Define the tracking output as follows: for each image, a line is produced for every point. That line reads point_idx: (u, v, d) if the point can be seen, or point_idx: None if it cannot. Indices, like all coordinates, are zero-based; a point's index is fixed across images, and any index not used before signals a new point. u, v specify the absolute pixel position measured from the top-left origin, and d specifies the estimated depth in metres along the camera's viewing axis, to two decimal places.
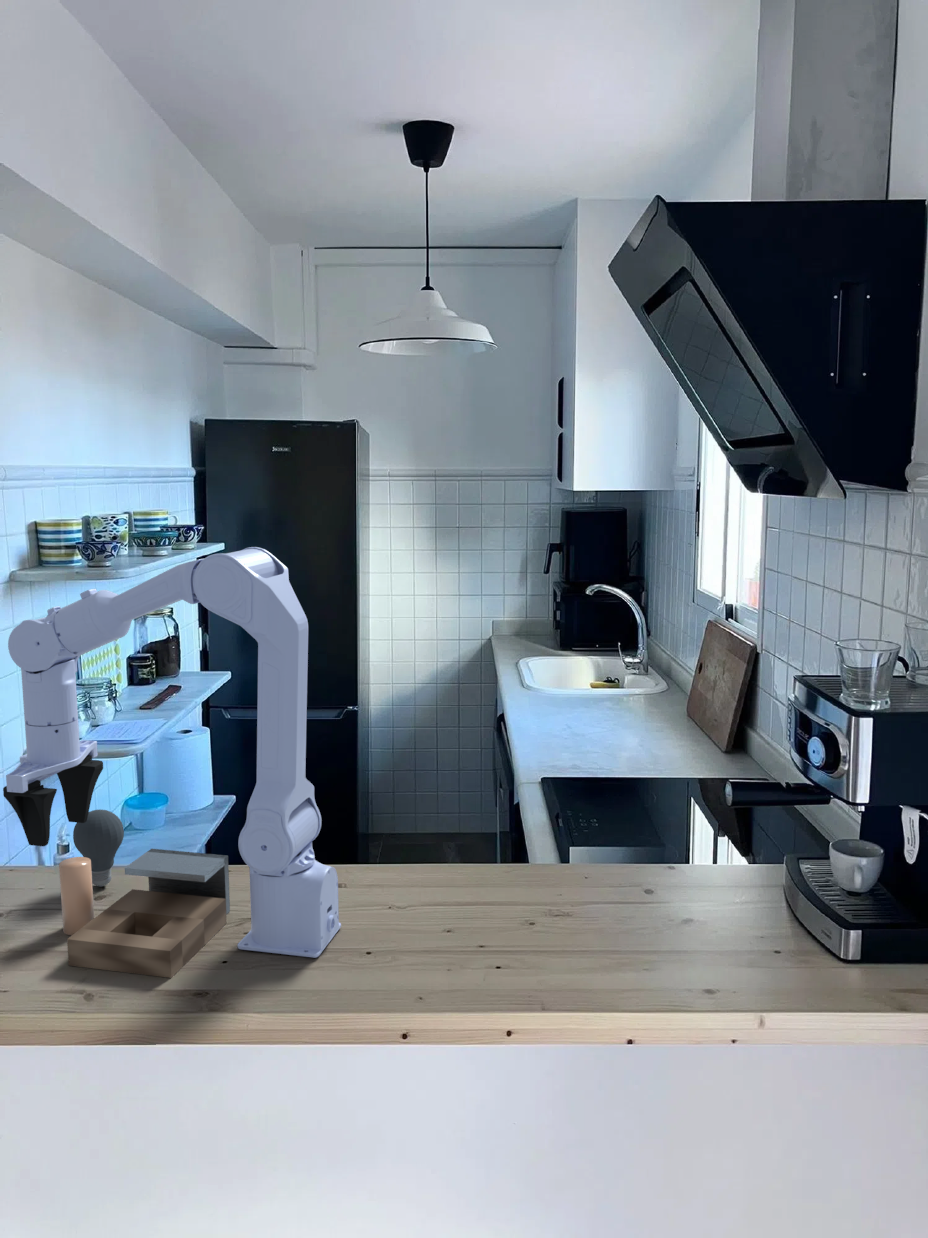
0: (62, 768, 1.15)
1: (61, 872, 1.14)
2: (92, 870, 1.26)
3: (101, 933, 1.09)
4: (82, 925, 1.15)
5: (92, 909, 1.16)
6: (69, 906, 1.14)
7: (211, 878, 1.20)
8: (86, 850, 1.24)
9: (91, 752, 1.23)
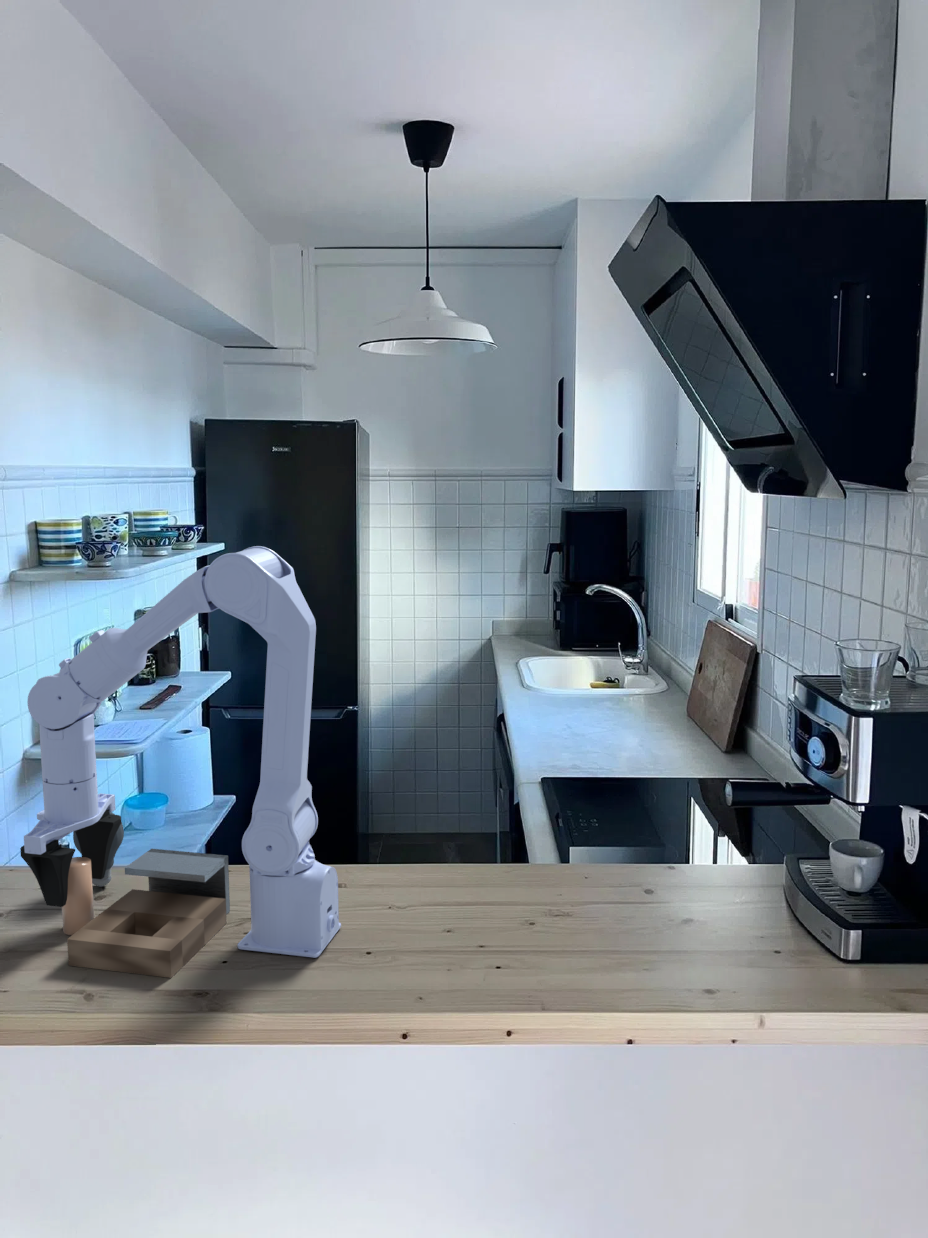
0: (80, 827, 1.12)
1: None
2: None
3: (101, 933, 1.09)
4: (82, 925, 1.15)
5: (92, 909, 1.16)
6: (69, 906, 1.14)
7: (211, 878, 1.20)
8: None
9: (109, 806, 1.20)
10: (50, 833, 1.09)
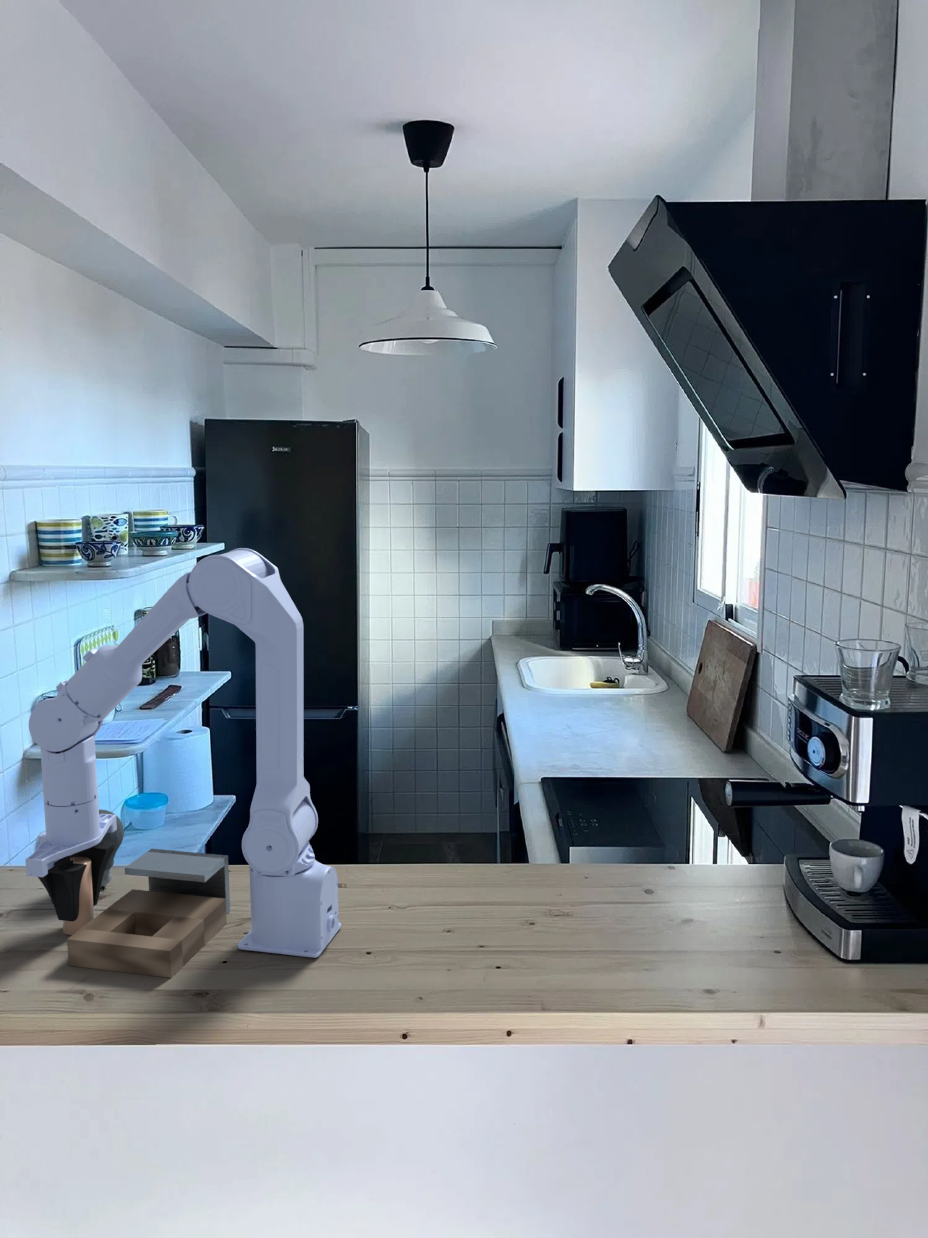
0: (82, 849, 1.12)
1: None
2: None
3: (101, 933, 1.09)
4: (82, 925, 1.15)
5: (92, 909, 1.16)
6: None
7: (211, 878, 1.20)
8: None
9: (110, 827, 1.21)
10: (52, 856, 1.09)
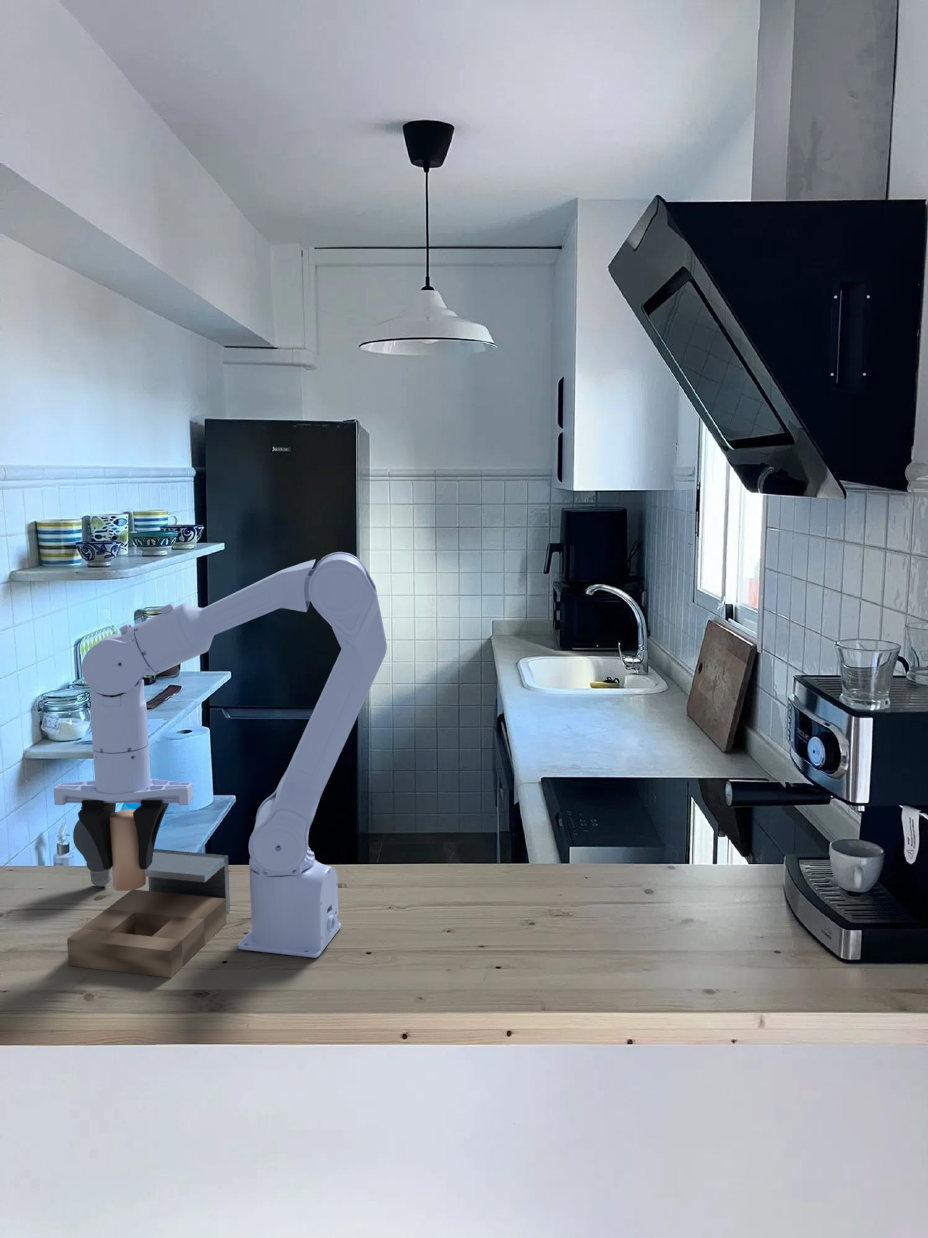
0: (95, 797, 1.07)
1: None
2: (92, 870, 1.26)
3: (101, 933, 1.09)
4: (115, 880, 1.10)
5: (128, 870, 1.10)
6: None
7: (211, 878, 1.20)
8: (86, 850, 1.24)
9: (178, 798, 1.09)
10: (67, 789, 1.08)
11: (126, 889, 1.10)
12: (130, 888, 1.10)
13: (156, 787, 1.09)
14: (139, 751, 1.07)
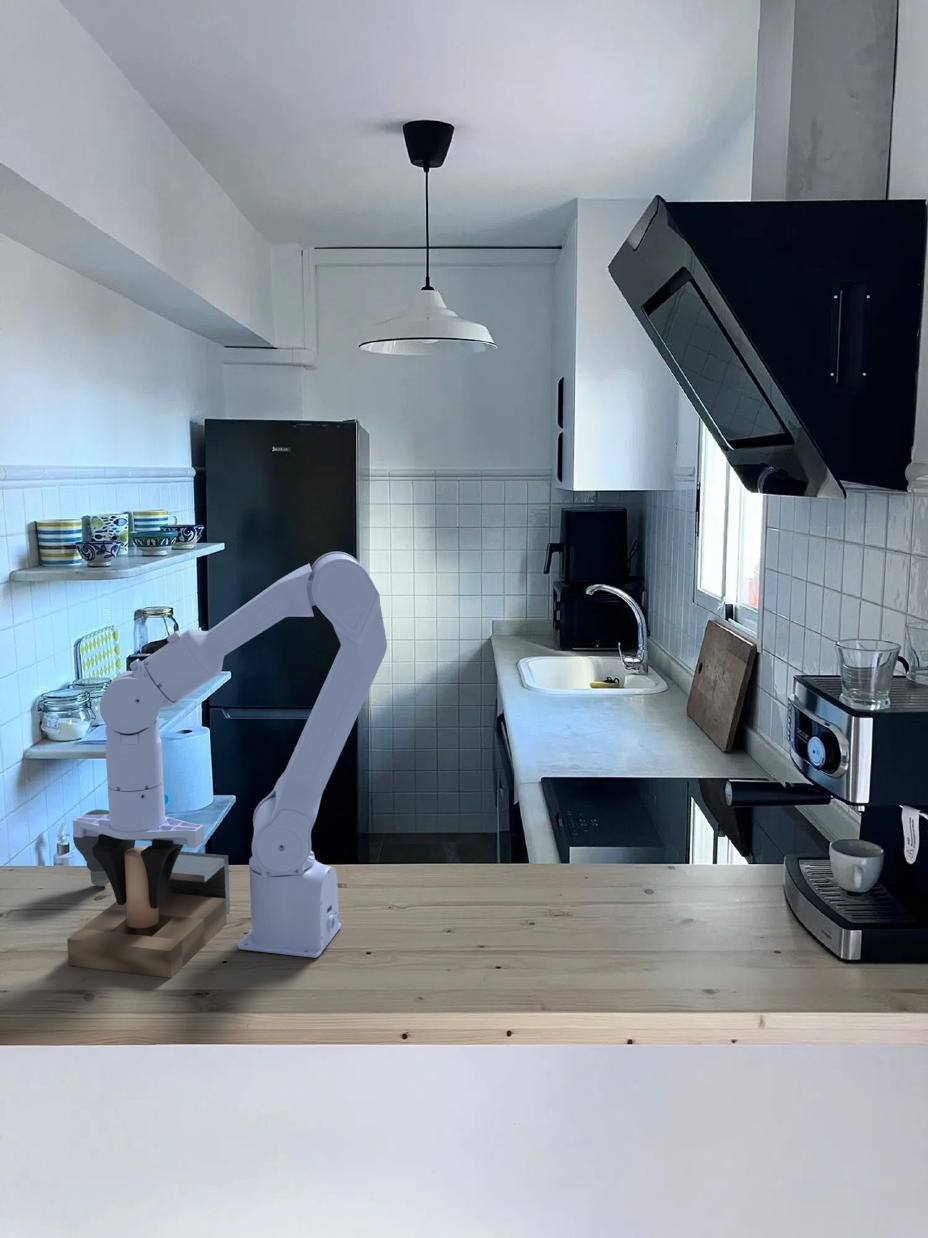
0: (107, 834, 1.07)
1: None
2: (92, 870, 1.26)
3: (101, 933, 1.09)
4: (128, 916, 1.10)
5: (139, 908, 1.09)
6: None
7: (211, 878, 1.20)
8: (86, 850, 1.24)
9: (186, 840, 1.07)
10: (84, 822, 1.09)
11: (137, 927, 1.09)
12: (141, 926, 1.09)
13: (168, 827, 1.08)
14: (150, 790, 1.07)
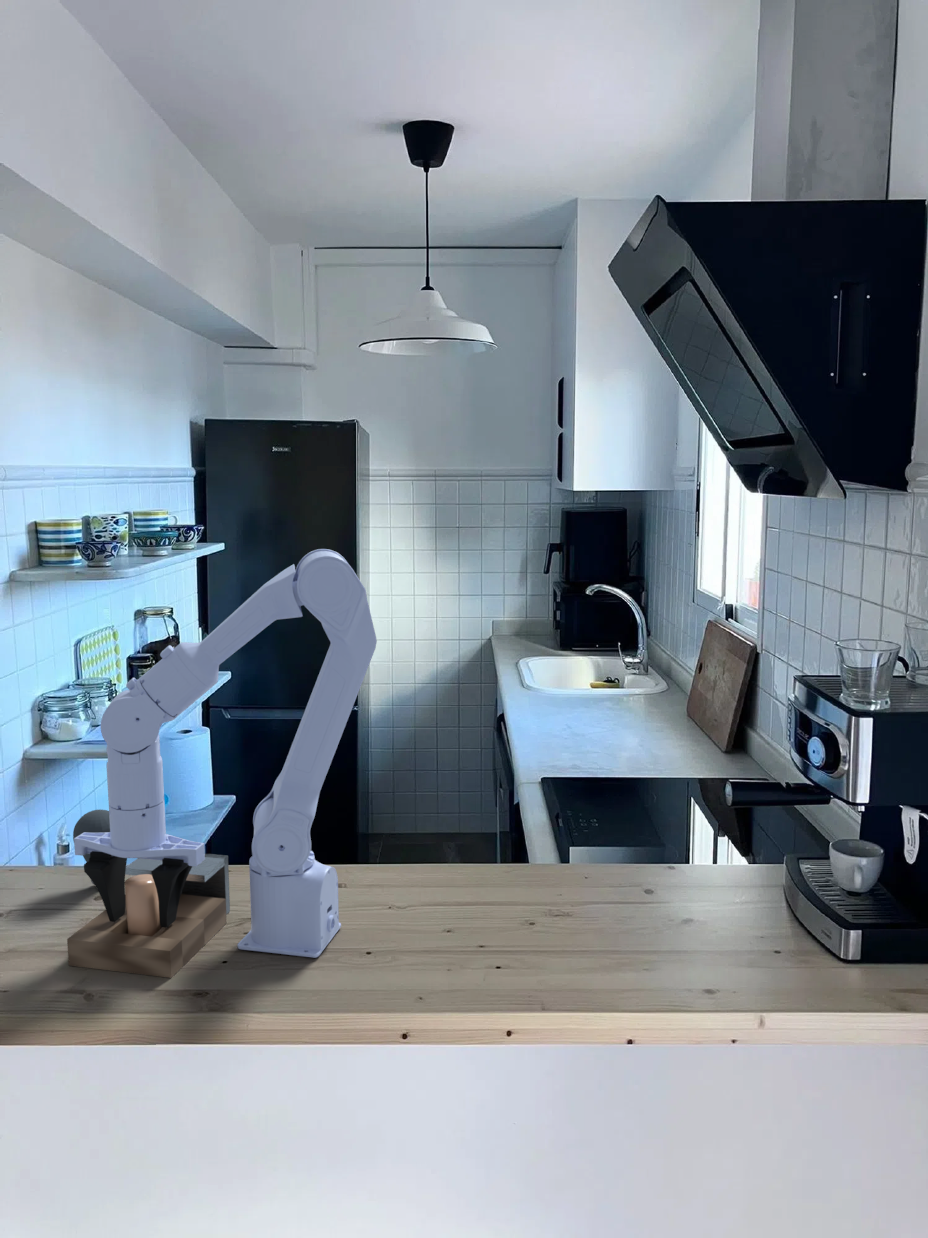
0: (108, 852, 1.08)
1: None
2: None
3: (101, 933, 1.09)
4: None
5: None
6: None
7: (211, 878, 1.20)
8: None
9: (187, 858, 1.07)
10: (85, 841, 1.10)
11: None
12: None
13: (168, 845, 1.09)
14: (150, 809, 1.07)
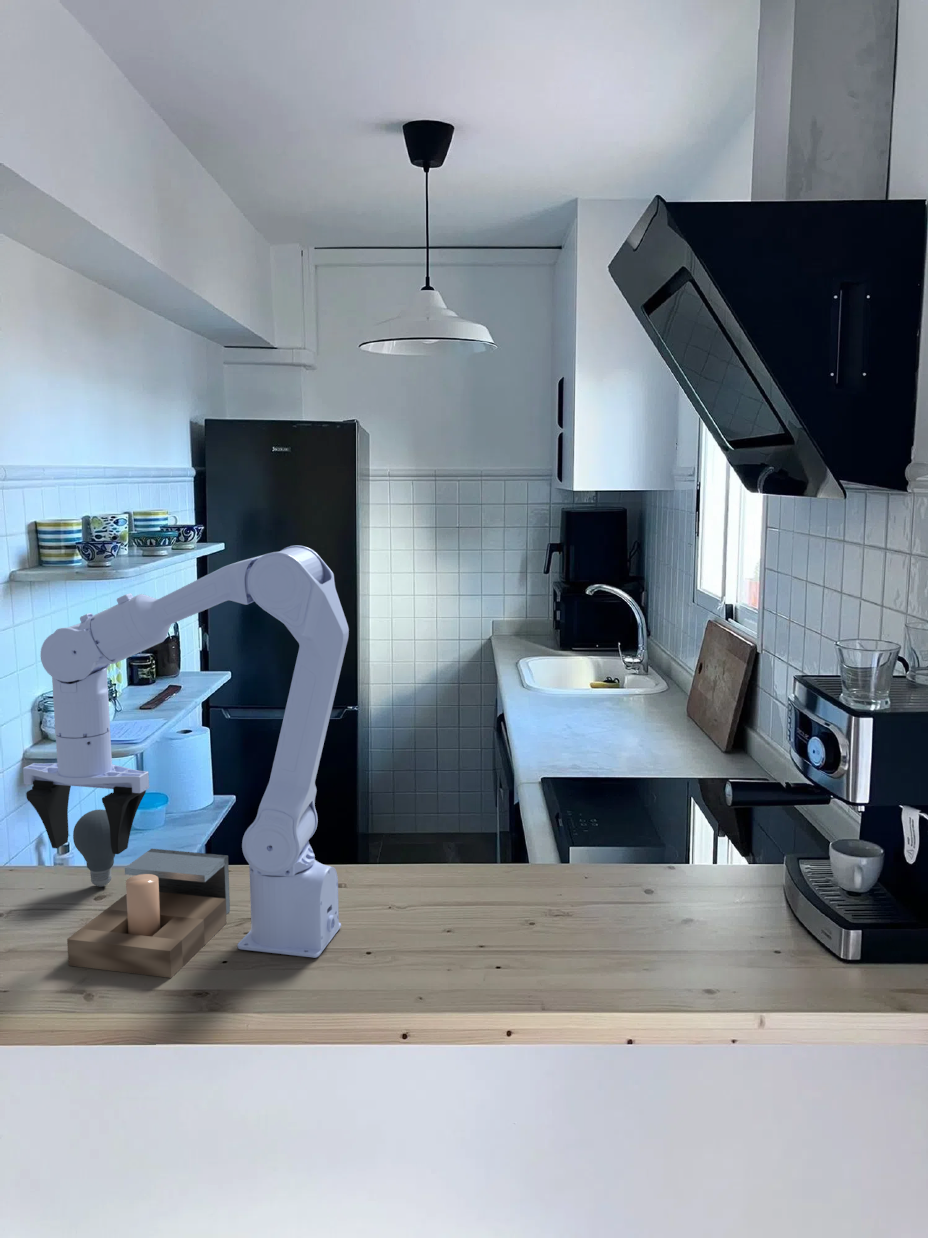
0: (55, 780, 1.11)
1: None
2: (92, 870, 1.26)
3: (101, 933, 1.09)
4: None
5: None
6: None
7: (211, 878, 1.20)
8: (86, 850, 1.24)
9: (131, 785, 1.11)
10: (34, 770, 1.13)
11: None
12: None
13: (114, 774, 1.12)
14: (95, 737, 1.11)
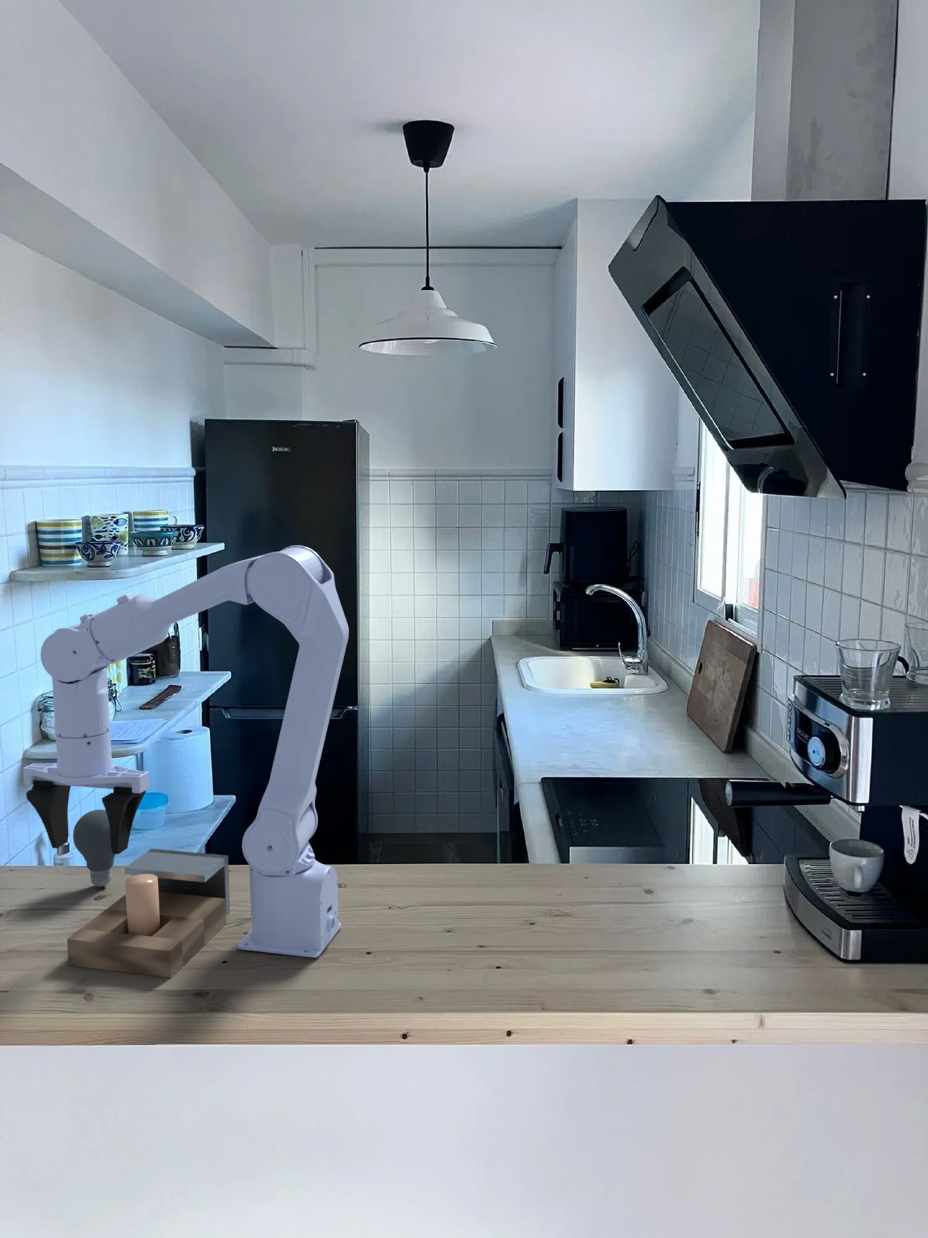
0: (55, 780, 1.11)
1: None
2: (92, 870, 1.26)
3: (101, 933, 1.09)
4: None
5: None
6: None
7: (211, 878, 1.20)
8: (86, 850, 1.24)
9: (131, 785, 1.11)
10: (34, 770, 1.13)
11: None
12: None
13: (114, 774, 1.12)
14: (95, 737, 1.11)
